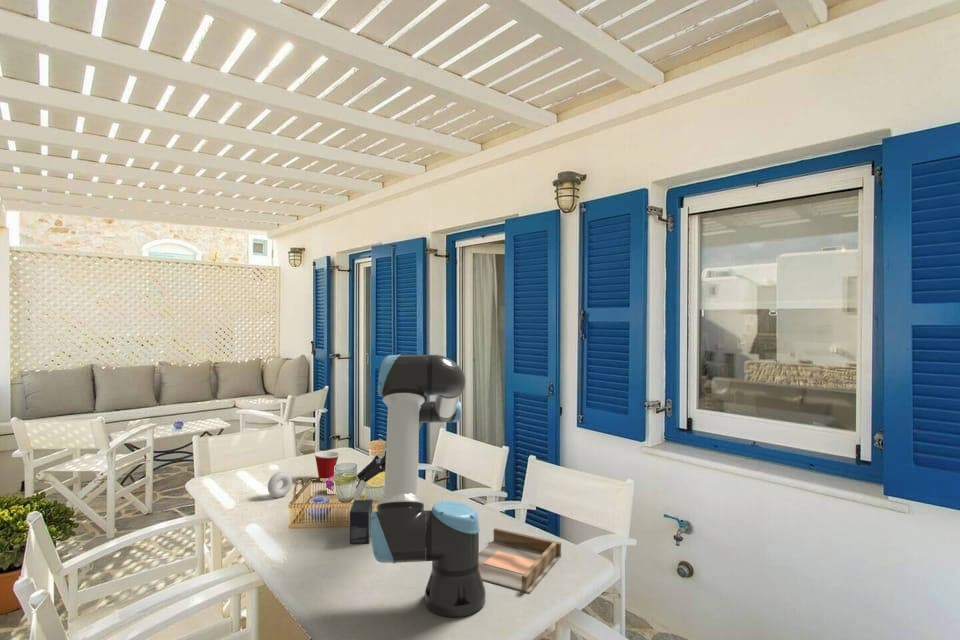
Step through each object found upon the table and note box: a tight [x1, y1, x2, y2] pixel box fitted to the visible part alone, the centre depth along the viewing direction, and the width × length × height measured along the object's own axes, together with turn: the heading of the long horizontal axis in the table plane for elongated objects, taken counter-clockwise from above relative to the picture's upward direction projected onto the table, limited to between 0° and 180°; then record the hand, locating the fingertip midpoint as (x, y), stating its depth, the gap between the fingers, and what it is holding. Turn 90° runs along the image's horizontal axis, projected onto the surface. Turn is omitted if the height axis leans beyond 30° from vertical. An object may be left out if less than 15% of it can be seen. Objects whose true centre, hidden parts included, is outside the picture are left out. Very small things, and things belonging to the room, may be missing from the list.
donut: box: [267, 471, 293, 498], centre depth 199 cm, size 10×4×10 cm, turn 143°
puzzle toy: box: [325, 476, 335, 491], centre depth 205 cm, size 6×6×6 cm
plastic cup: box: [313, 450, 340, 479], centre depth 221 cm, size 11×11×12 cm
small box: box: [349, 499, 373, 545], centre depth 162 cm, size 11×6×10 cm, turn 6°
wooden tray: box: [479, 527, 562, 594], centre depth 144 cm, size 24×22×4 cm
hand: (370, 502), depth 166 cm, fingers open, 13 cm apart
